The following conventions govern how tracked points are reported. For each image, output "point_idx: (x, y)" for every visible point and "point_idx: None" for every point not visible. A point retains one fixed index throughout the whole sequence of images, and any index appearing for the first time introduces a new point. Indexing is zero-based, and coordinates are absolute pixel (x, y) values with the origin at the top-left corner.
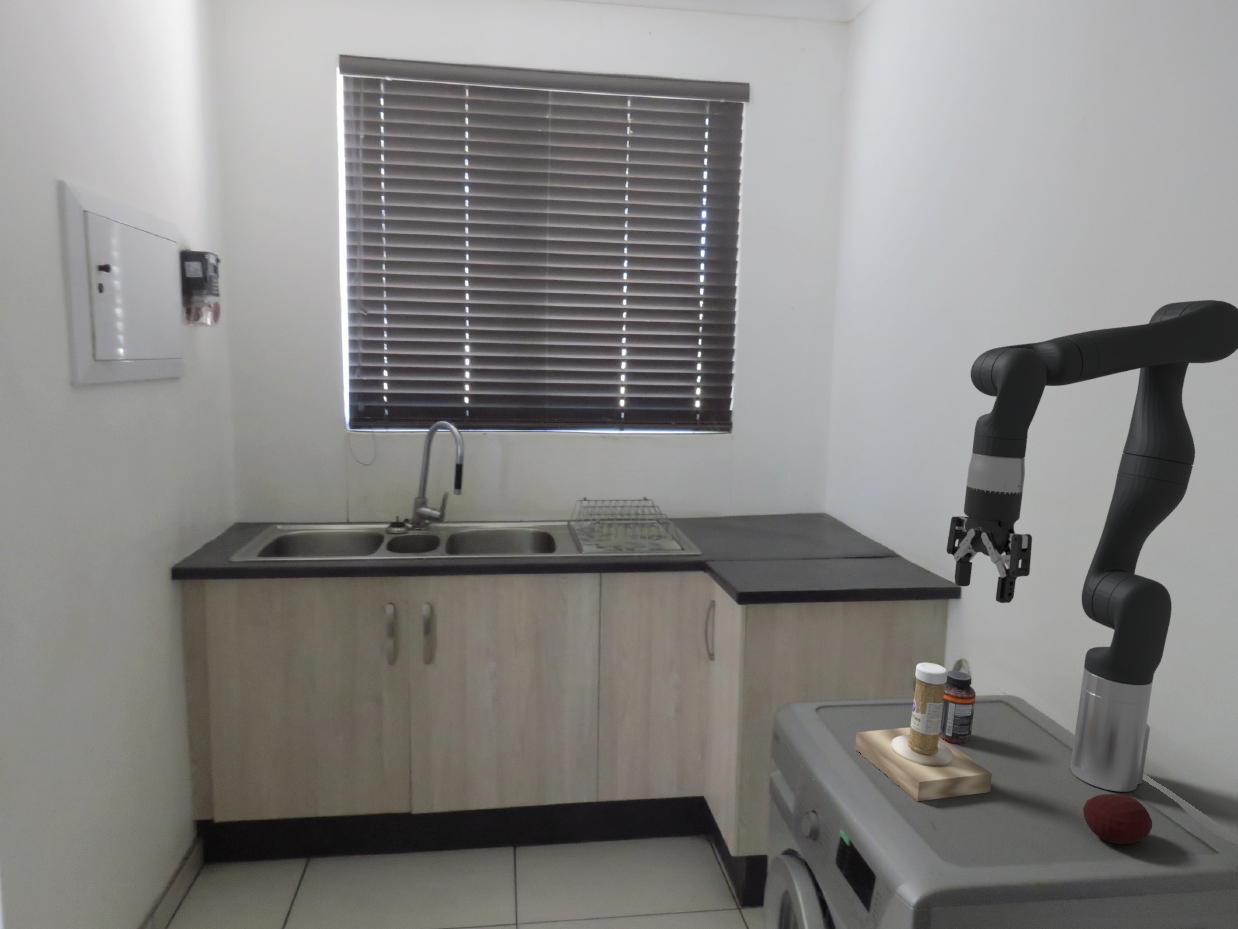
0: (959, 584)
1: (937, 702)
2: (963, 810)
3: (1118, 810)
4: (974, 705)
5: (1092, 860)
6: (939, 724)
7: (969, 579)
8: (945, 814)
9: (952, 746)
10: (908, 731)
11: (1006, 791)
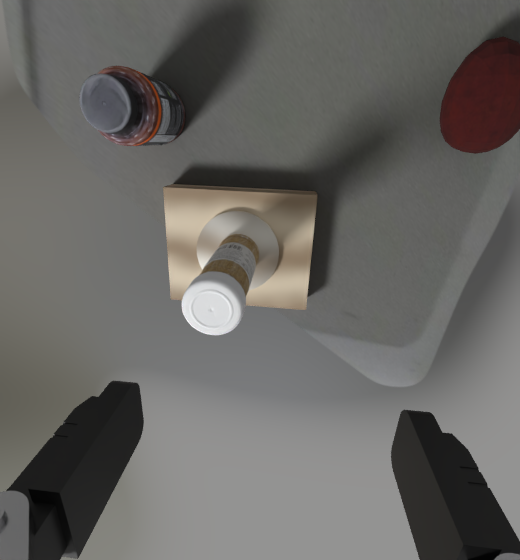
0: (139, 430)
1: (248, 286)
2: (338, 260)
3: (512, 127)
4: (153, 82)
5: (484, 189)
6: (252, 261)
7: (122, 405)
8: (338, 286)
9: (233, 192)
10: (177, 225)
11: (321, 164)
